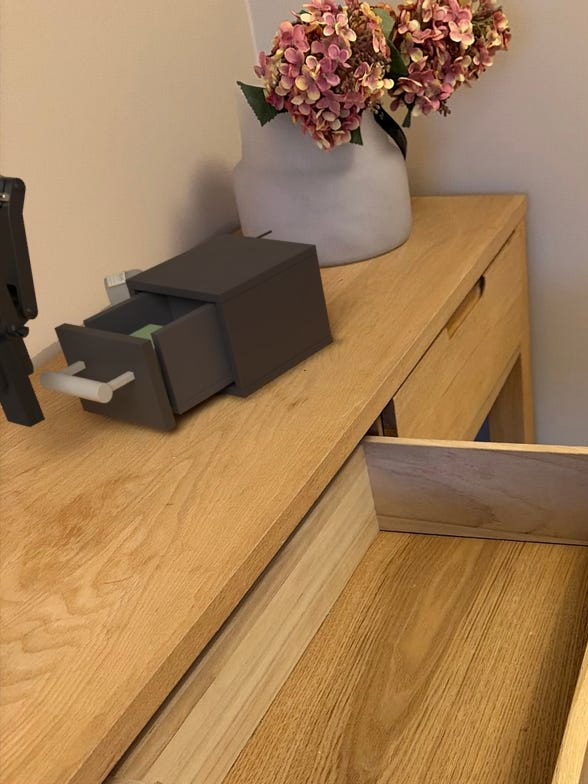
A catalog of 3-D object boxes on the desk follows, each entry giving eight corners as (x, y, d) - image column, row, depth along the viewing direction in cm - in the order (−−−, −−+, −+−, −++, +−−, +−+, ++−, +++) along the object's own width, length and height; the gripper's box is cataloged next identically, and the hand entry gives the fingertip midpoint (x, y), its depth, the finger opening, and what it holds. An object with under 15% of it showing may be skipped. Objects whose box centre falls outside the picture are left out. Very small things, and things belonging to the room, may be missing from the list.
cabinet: (244, 397, 91) (219, 294, 85) (154, 378, 96) (124, 279, 90) (332, 341, 100) (315, 244, 93) (245, 326, 104) (224, 233, 98)
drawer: (130, 454, 82) (100, 366, 77) (46, 432, 86) (13, 347, 81) (260, 373, 93) (241, 291, 88) (180, 357, 97) (157, 278, 92)
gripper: (-169, 111, 58) (-11, 467, 72) (11, 66, 66) (120, 393, 81) (-239, 107, 61) (-74, 448, 76) (-59, 65, 69) (58, 380, 84)
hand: (26, 420), depth 78 cm, fingers closed
